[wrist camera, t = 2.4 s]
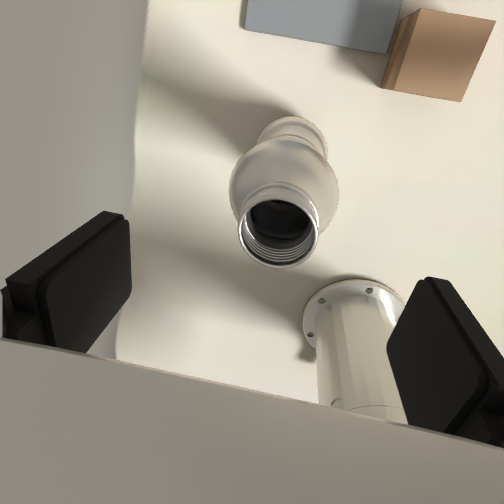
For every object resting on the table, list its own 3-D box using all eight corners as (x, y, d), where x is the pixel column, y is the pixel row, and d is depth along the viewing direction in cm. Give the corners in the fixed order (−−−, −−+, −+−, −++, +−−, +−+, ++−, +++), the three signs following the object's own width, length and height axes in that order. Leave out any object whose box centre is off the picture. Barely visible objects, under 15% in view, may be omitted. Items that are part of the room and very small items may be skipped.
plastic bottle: (297, 194, 34) (291, 317, 17) (245, 154, 33) (179, 241, 15) (340, 143, 31) (387, 227, 14) (285, 97, 30) (259, 125, 12)
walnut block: (436, 98, 28) (460, 102, 24) (379, 87, 29) (393, 89, 24) (463, 30, 26) (496, 20, 22) (401, 19, 26) (421, 8, 22)
